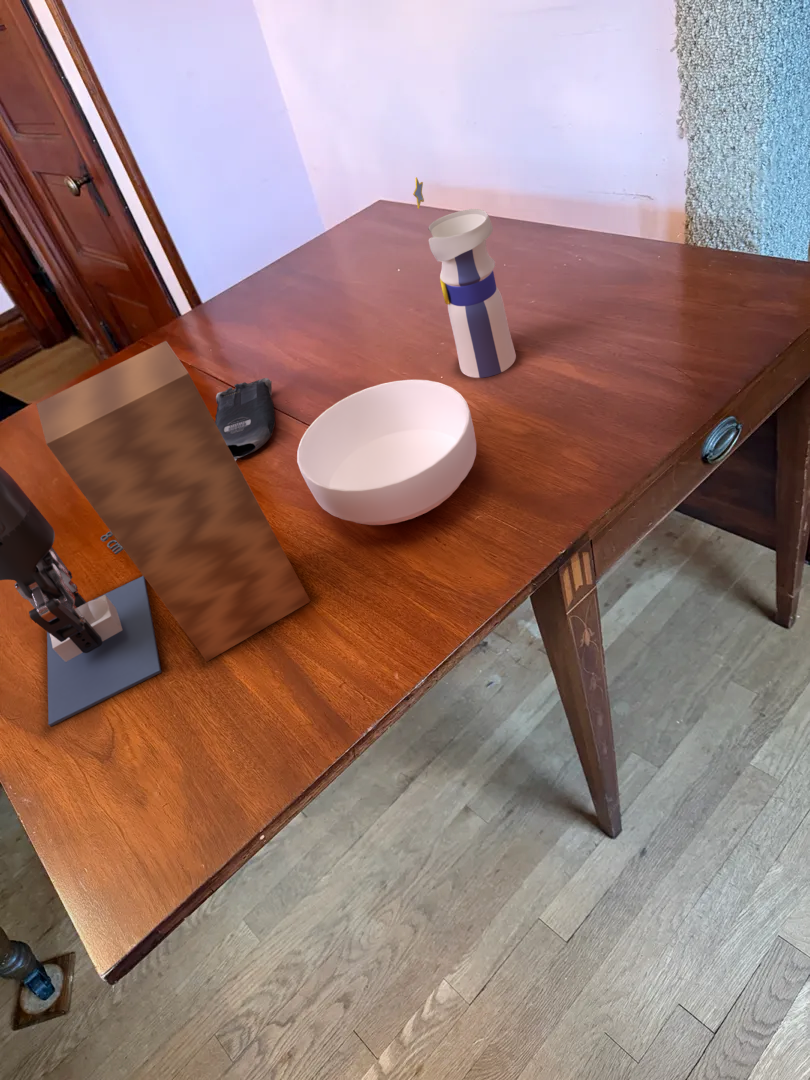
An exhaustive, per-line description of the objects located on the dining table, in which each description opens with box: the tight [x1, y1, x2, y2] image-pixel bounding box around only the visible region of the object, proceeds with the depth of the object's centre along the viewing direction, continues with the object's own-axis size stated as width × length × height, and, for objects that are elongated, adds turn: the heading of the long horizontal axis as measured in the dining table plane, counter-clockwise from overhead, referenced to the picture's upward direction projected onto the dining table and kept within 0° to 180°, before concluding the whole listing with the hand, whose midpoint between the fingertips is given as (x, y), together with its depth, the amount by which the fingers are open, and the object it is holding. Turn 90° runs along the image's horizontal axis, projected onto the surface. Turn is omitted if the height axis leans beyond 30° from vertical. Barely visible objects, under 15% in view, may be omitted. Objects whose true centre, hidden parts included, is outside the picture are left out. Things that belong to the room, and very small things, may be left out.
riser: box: [35, 340, 311, 662], centre depth 70 cm, size 12×8×28 cm, turn 118°
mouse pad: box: [46, 575, 162, 727], centre depth 81 cm, size 16×12×1 cm
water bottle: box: [412, 176, 517, 379], centre depth 93 cm, size 8×9×25 cm
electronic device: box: [214, 377, 276, 462], centre depth 105 cm, size 9×6×15 cm
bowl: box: [296, 379, 477, 526], centre depth 84 cm, size 20×20×8 cm
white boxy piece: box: [50, 594, 123, 662], centre depth 79 cm, size 7×4×4 cm, turn 118°
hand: (90, 633), depth 80 cm, fingers closed on white boxy piece, 4 cm apart
